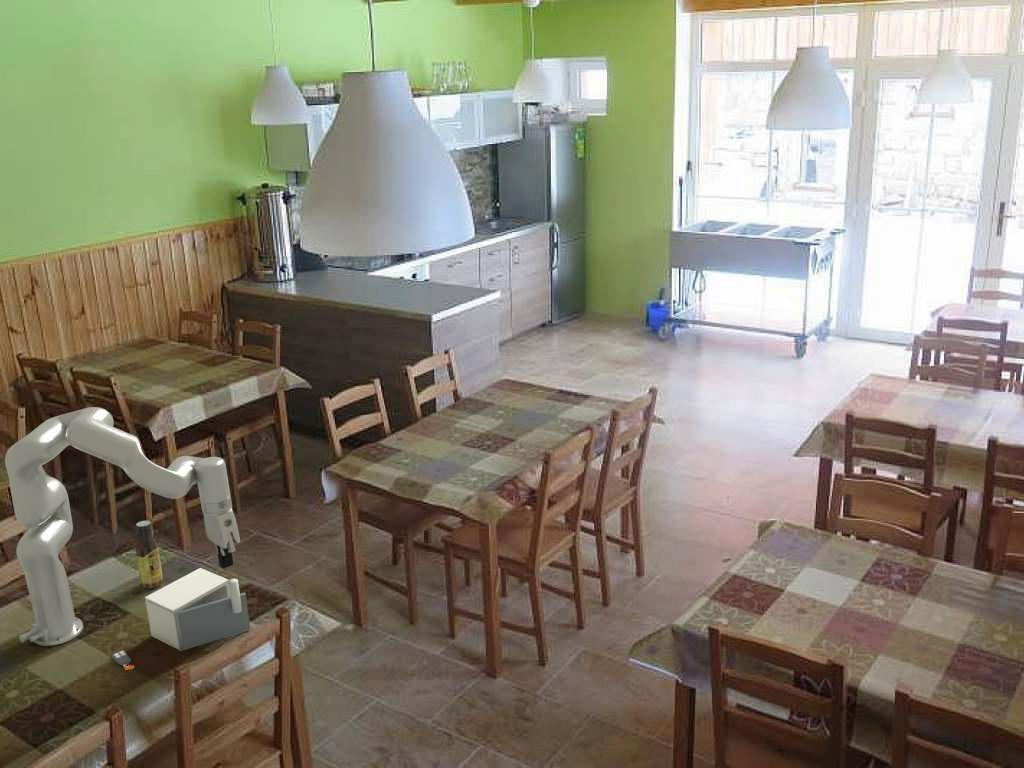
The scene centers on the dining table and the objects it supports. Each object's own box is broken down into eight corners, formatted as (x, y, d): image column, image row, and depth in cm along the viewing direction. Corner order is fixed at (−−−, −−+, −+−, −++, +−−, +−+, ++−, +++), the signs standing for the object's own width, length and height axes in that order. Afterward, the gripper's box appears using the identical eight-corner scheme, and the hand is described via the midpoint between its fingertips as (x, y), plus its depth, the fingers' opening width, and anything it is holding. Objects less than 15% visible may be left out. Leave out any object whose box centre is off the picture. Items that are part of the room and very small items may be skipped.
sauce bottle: (156, 590, 281) (145, 530, 275) (137, 588, 282) (126, 528, 276) (168, 579, 287) (158, 519, 281) (149, 577, 289) (139, 518, 282)
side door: (182, 655, 249) (173, 600, 244) (179, 649, 252) (170, 594, 247) (253, 633, 258) (245, 579, 253) (249, 627, 261) (242, 574, 256)
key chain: (110, 659, 251) (109, 654, 250) (124, 653, 253) (123, 648, 253) (129, 681, 242) (128, 676, 241) (144, 674, 244) (143, 669, 243)
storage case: (179, 650, 253) (173, 610, 249) (151, 635, 259) (144, 597, 255) (233, 617, 267) (228, 579, 263) (205, 604, 273) (200, 567, 269)
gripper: (244, 507, 247) (253, 569, 253) (215, 491, 257) (224, 551, 264) (218, 517, 242) (228, 581, 248) (189, 500, 252) (199, 562, 259)
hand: (226, 565), depth 256 cm, fingers closed
